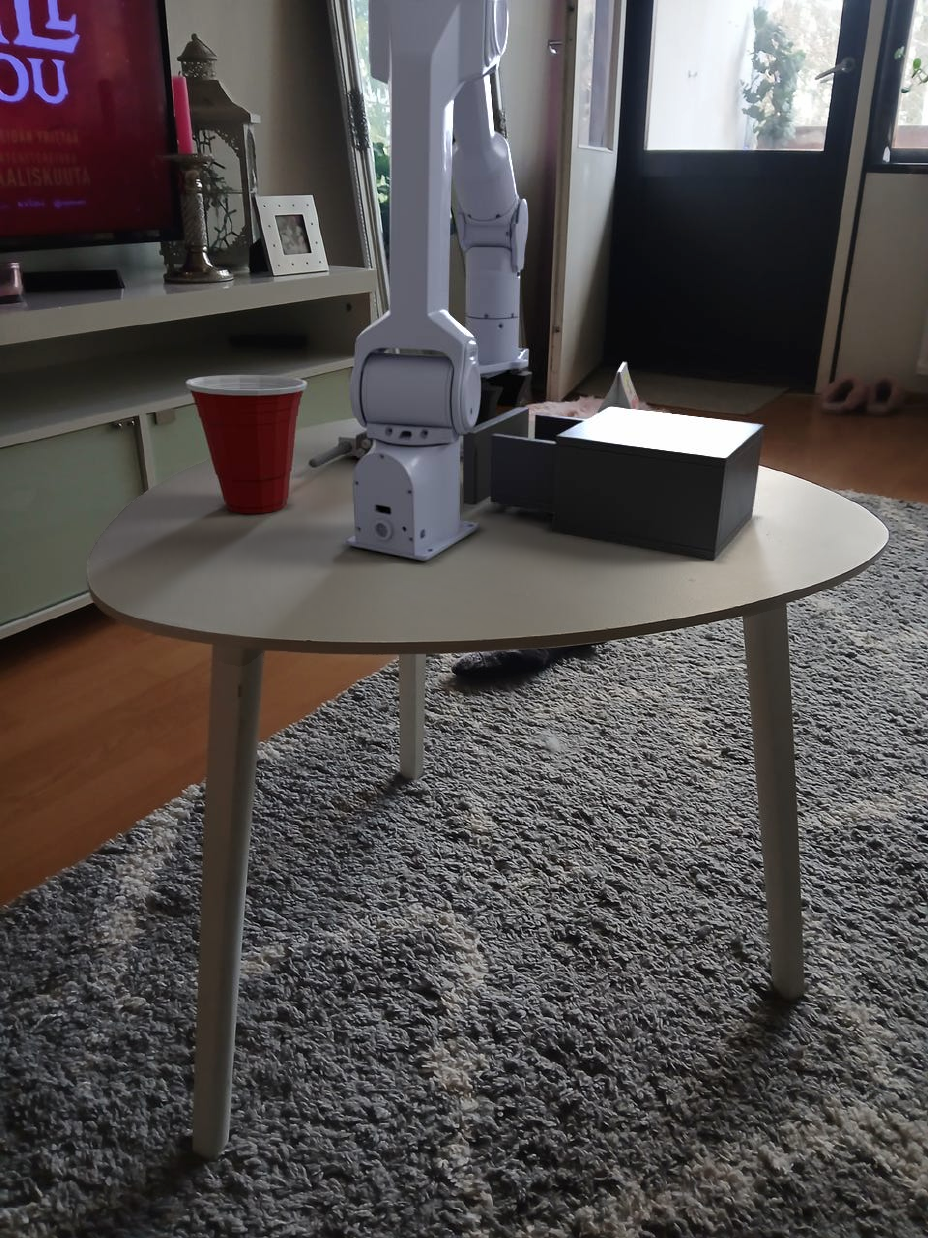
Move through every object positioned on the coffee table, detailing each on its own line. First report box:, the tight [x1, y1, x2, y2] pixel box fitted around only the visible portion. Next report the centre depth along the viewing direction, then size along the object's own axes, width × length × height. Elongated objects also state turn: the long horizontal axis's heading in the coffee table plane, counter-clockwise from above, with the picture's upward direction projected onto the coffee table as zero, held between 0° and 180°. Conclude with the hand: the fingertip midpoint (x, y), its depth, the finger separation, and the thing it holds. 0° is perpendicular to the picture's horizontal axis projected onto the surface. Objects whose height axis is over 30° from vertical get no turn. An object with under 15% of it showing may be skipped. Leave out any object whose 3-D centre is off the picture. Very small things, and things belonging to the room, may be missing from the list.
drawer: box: [460, 406, 588, 514], centre depth 91 cm, size 18×11×7 cm, turn 61°
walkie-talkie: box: [308, 427, 374, 469], centre depth 107 cm, size 9×4×20 cm
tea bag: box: [597, 361, 639, 414], centre depth 105 cm, size 4×7×10 cm, turn 166°
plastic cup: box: [185, 374, 308, 515], centre depth 90 cm, size 11×11×12 cm
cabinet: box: [551, 407, 765, 561], centre depth 86 cm, size 15×13×9 cm
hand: (490, 441), depth 109 cm, fingers closed on block, 5 cm apart
